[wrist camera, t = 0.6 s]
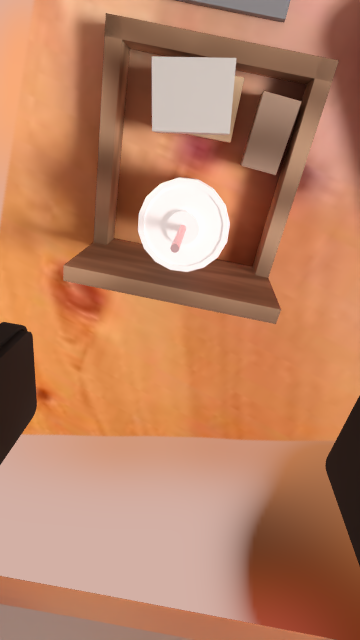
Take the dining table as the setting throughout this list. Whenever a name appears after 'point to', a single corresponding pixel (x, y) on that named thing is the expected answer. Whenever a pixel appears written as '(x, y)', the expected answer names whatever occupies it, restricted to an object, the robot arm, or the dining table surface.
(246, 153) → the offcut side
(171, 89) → the offcut top
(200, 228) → the beverage cup
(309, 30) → the dining table surface
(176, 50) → the rack
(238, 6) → the coaster
